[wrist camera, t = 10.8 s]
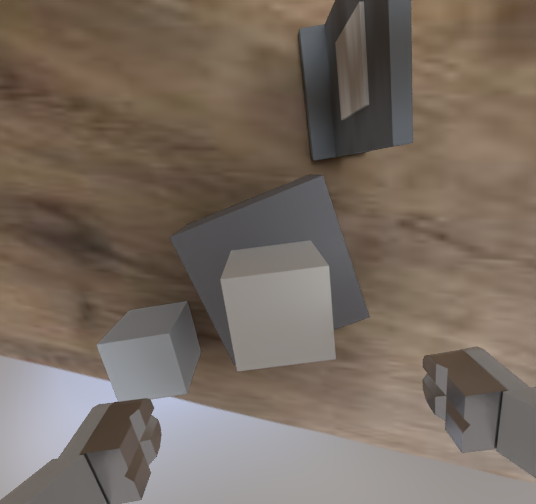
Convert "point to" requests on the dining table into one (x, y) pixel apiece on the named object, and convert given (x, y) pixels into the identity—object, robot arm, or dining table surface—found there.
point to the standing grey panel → (358, 78)
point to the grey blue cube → (151, 352)
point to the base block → (265, 234)
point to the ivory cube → (278, 305)
